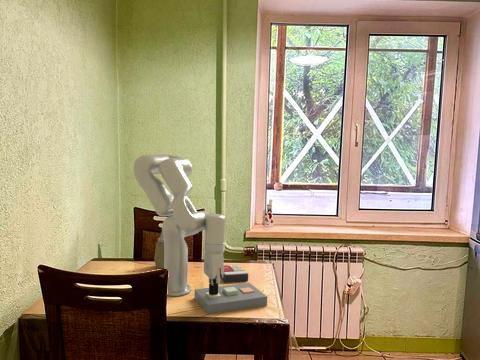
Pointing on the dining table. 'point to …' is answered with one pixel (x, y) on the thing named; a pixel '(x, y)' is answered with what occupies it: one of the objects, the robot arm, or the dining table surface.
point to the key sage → (230, 291)
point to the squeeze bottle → (159, 252)
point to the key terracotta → (246, 290)
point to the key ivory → (213, 295)
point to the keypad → (230, 299)
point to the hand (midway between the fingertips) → (213, 293)
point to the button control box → (234, 274)
